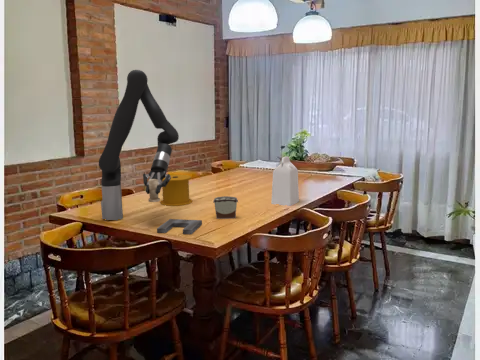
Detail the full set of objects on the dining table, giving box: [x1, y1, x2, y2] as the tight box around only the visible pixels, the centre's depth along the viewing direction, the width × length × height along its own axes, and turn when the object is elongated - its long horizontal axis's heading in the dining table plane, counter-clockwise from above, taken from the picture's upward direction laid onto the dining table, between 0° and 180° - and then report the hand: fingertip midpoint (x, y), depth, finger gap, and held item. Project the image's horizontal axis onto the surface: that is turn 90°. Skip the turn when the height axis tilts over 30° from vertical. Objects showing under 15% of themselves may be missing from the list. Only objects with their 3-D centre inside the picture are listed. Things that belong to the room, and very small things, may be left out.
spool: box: [159, 174, 193, 207], centre depth 254 cm, size 18×18×15 cm
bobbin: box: [147, 178, 161, 203], centre depth 206 cm, size 5×5×10 cm
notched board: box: [156, 218, 203, 235], centre depth 203 cm, size 16×16×2 cm
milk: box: [270, 155, 300, 207], centre depth 248 cm, size 12×12×26 cm
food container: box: [212, 195, 239, 220], centre depth 221 cm, size 12×6×10 cm, turn 92°
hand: (152, 193), depth 204 cm, fingers closed on bobbin, 4 cm apart
